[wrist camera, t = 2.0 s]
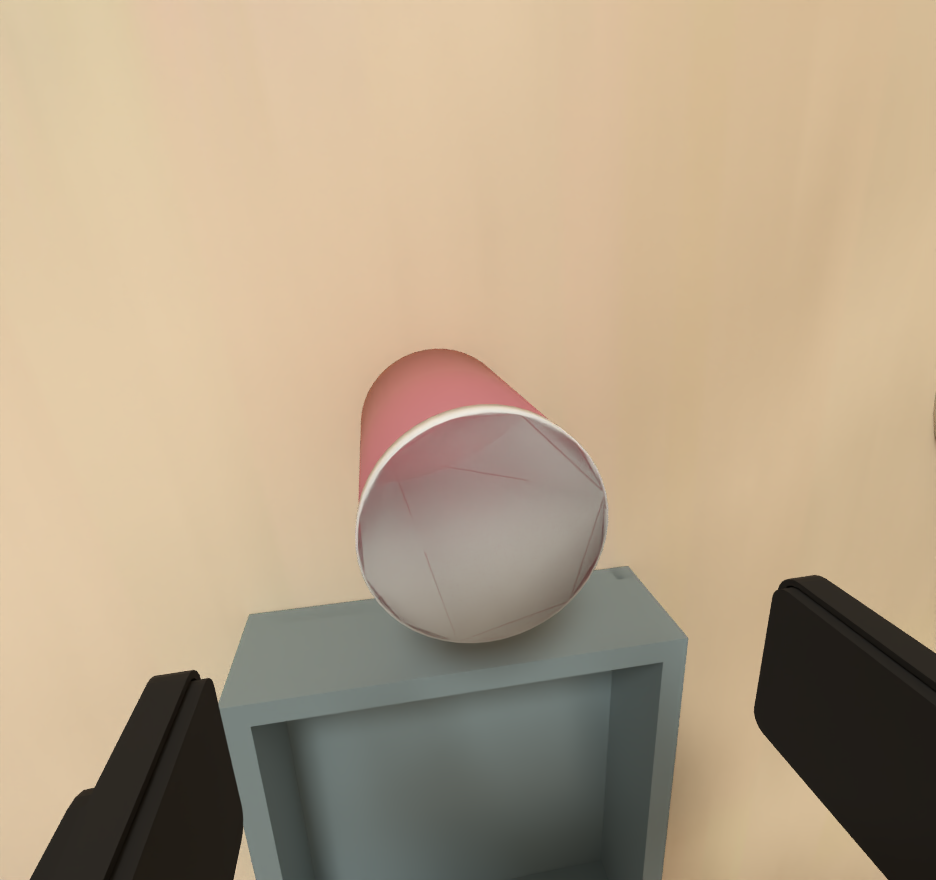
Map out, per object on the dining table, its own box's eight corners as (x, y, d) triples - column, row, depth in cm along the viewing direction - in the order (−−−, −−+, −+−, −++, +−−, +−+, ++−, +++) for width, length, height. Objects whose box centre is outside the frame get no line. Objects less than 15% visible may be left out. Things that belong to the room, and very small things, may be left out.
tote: (627, 566, 27) (688, 638, 22) (609, 851, 33) (653, 959, 28) (249, 614, 24) (216, 709, 19) (307, 913, 31) (294, 1045, 26)
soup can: (512, 343, 23) (616, 401, 13) (511, 487, 25) (601, 626, 15) (353, 351, 22) (343, 420, 12) (366, 501, 24) (366, 658, 14)
